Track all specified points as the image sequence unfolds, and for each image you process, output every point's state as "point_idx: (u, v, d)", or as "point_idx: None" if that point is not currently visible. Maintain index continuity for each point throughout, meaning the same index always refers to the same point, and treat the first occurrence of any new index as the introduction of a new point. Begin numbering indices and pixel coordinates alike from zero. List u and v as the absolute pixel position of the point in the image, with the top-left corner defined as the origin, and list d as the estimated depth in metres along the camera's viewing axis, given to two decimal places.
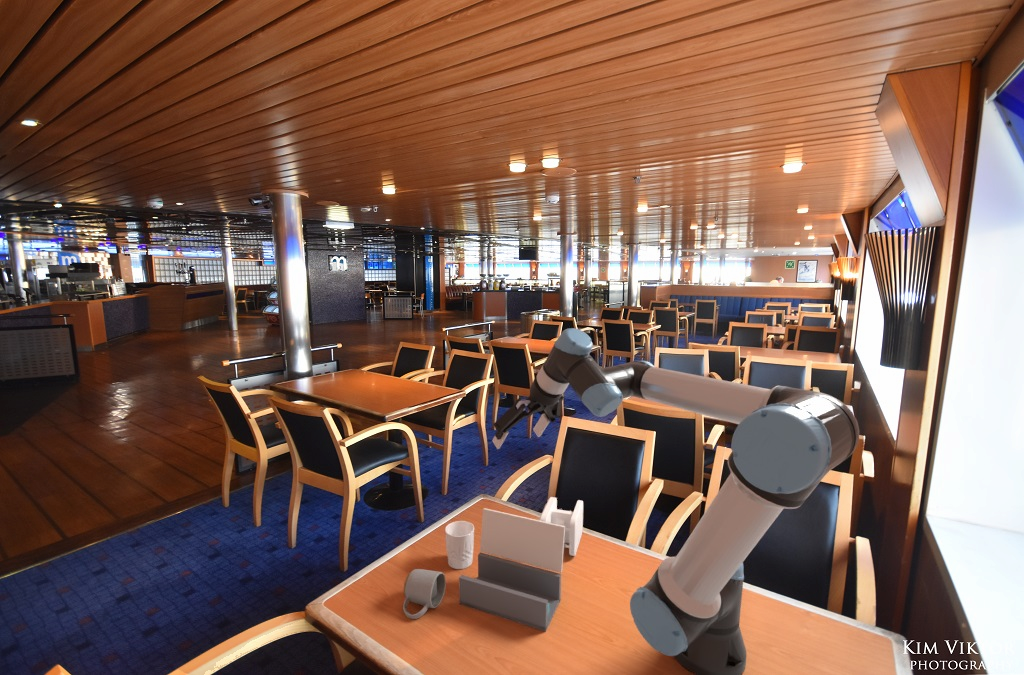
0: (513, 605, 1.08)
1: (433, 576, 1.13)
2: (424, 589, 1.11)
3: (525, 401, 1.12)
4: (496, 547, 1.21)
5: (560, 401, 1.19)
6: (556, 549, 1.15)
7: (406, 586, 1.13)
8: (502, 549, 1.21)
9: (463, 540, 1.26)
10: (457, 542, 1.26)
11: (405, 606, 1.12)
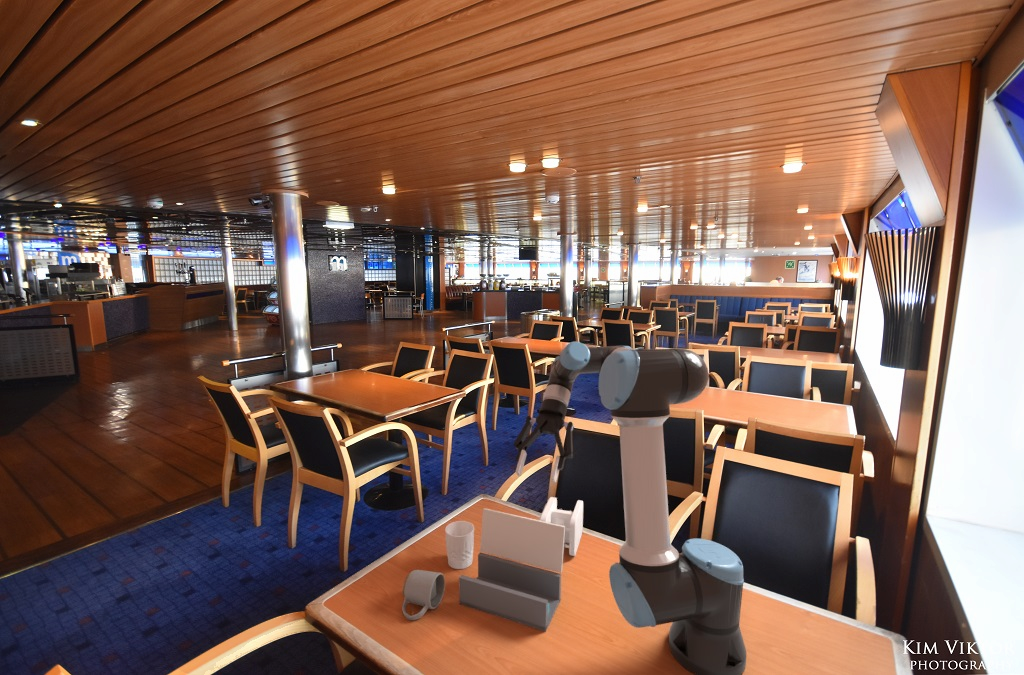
0: (513, 605, 1.08)
1: (433, 577, 1.12)
2: (423, 590, 1.11)
3: None
4: (496, 547, 1.21)
5: (569, 427, 1.31)
6: (556, 549, 1.15)
7: (406, 587, 1.13)
8: (502, 549, 1.21)
9: (463, 540, 1.26)
10: (457, 542, 1.26)
11: (404, 607, 1.11)
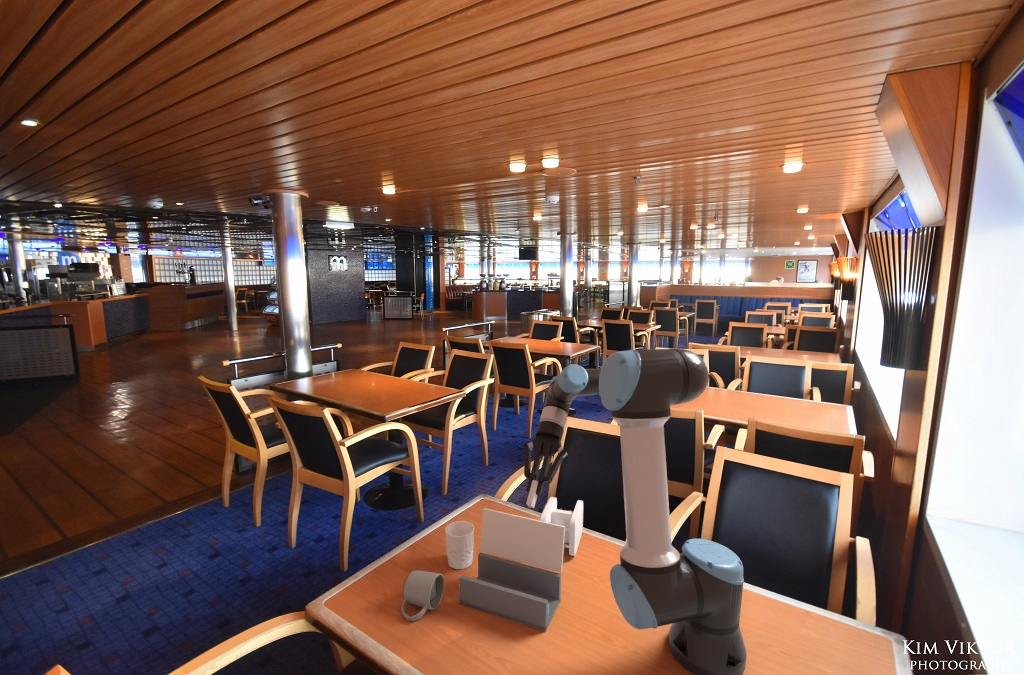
0: (513, 605, 1.08)
1: (432, 578, 1.12)
2: (423, 591, 1.10)
3: None
4: (496, 547, 1.21)
5: (560, 454, 1.30)
6: (556, 549, 1.15)
7: (405, 588, 1.12)
8: (502, 549, 1.21)
9: (463, 540, 1.26)
10: (457, 542, 1.26)
11: (404, 608, 1.11)
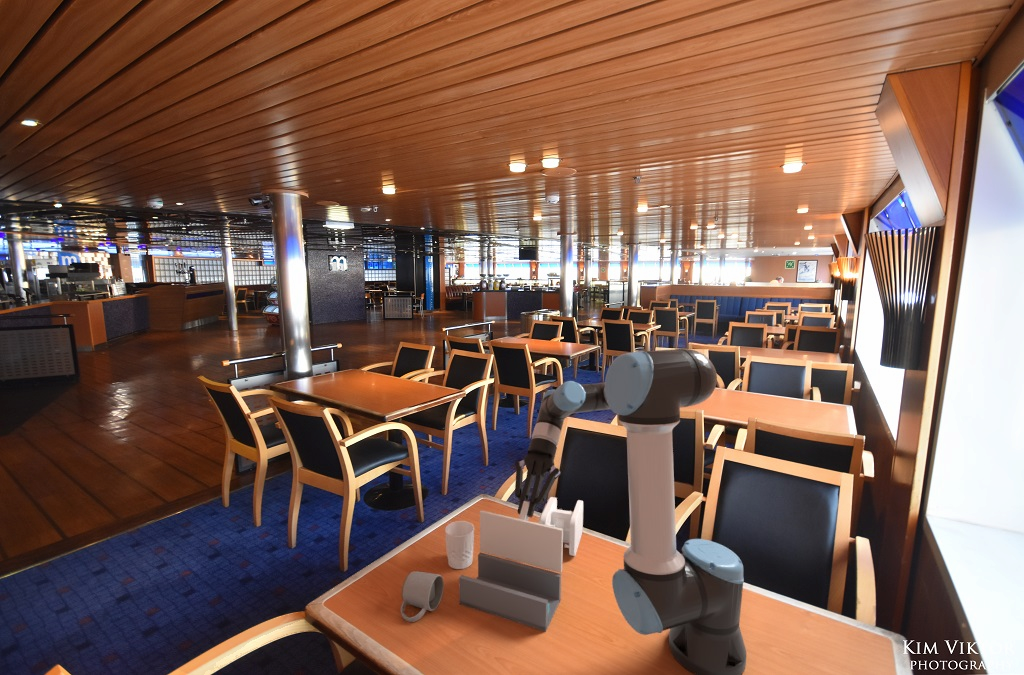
0: (513, 605, 1.08)
1: (431, 579, 1.12)
2: (422, 592, 1.10)
3: None
4: (495, 548, 1.21)
5: (553, 473, 1.25)
6: (555, 551, 1.14)
7: (404, 589, 1.12)
8: (501, 550, 1.20)
9: (463, 540, 1.26)
10: (457, 542, 1.26)
11: (403, 609, 1.11)
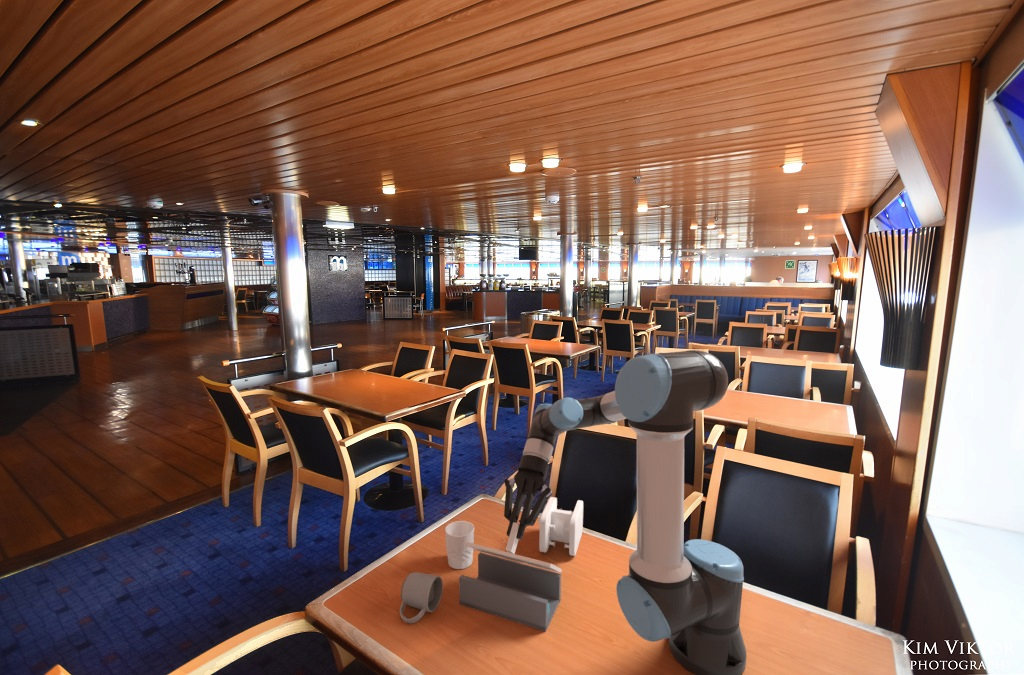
0: (513, 605, 1.08)
1: (430, 580, 1.11)
2: (421, 593, 1.10)
3: None
4: (493, 554, 1.20)
5: (544, 493, 1.18)
6: (549, 568, 1.11)
7: (403, 590, 1.12)
8: None
9: (463, 540, 1.26)
10: (457, 542, 1.26)
11: (402, 610, 1.10)
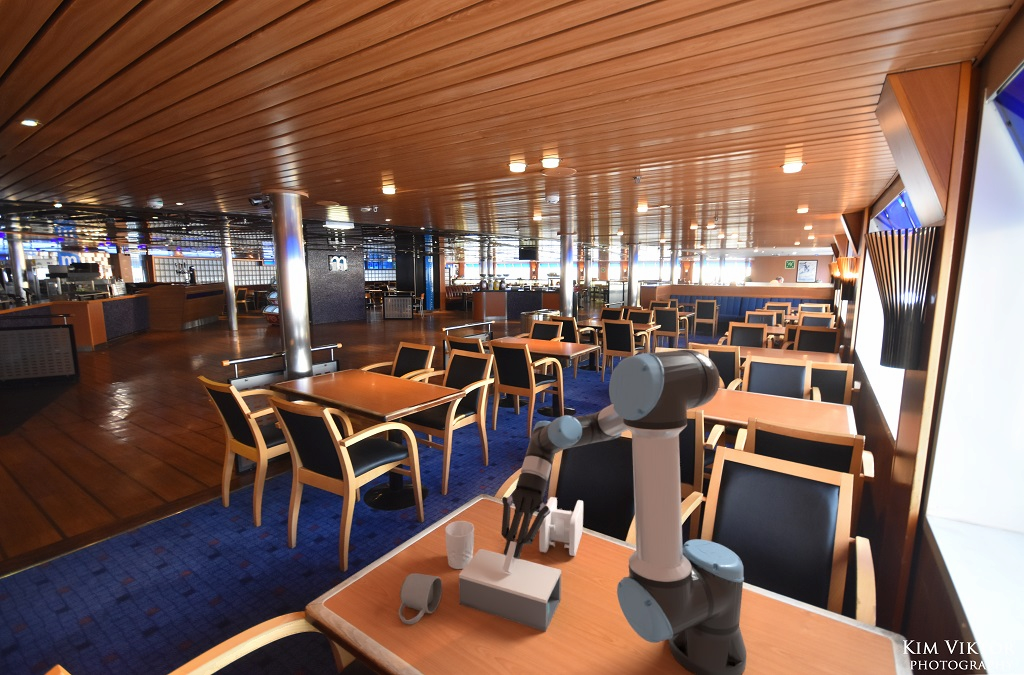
0: (513, 605, 1.08)
1: (430, 581, 1.11)
2: (420, 594, 1.09)
3: None
4: None
5: (542, 511, 1.18)
6: None
7: (402, 591, 1.11)
8: None
9: (463, 540, 1.26)
10: (457, 542, 1.26)
11: (401, 611, 1.10)
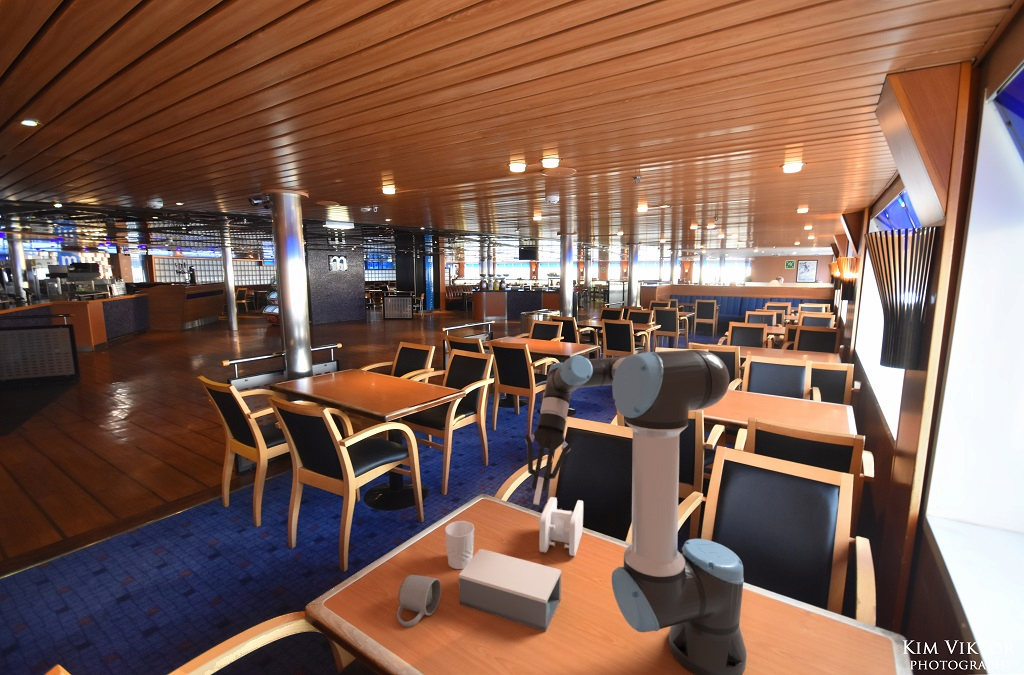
0: (513, 605, 1.08)
1: (428, 583, 1.10)
2: (418, 596, 1.09)
3: None
4: None
5: (565, 449, 1.26)
6: None
7: (401, 593, 1.11)
8: None
9: (463, 540, 1.26)
10: (457, 542, 1.26)
11: (399, 613, 1.09)
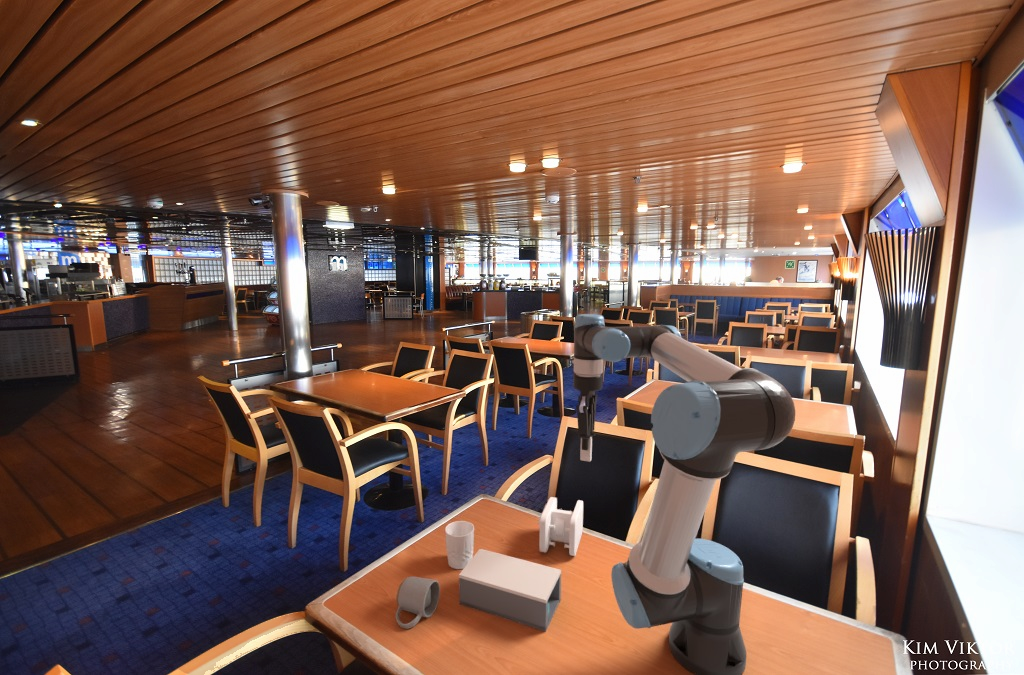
0: (513, 605, 1.08)
1: (427, 584, 1.10)
2: (417, 598, 1.08)
3: (582, 402, 1.20)
4: None
5: (596, 401, 1.29)
6: None
7: (399, 595, 1.10)
8: None
9: (463, 540, 1.26)
10: (457, 542, 1.26)
11: (398, 615, 1.09)
